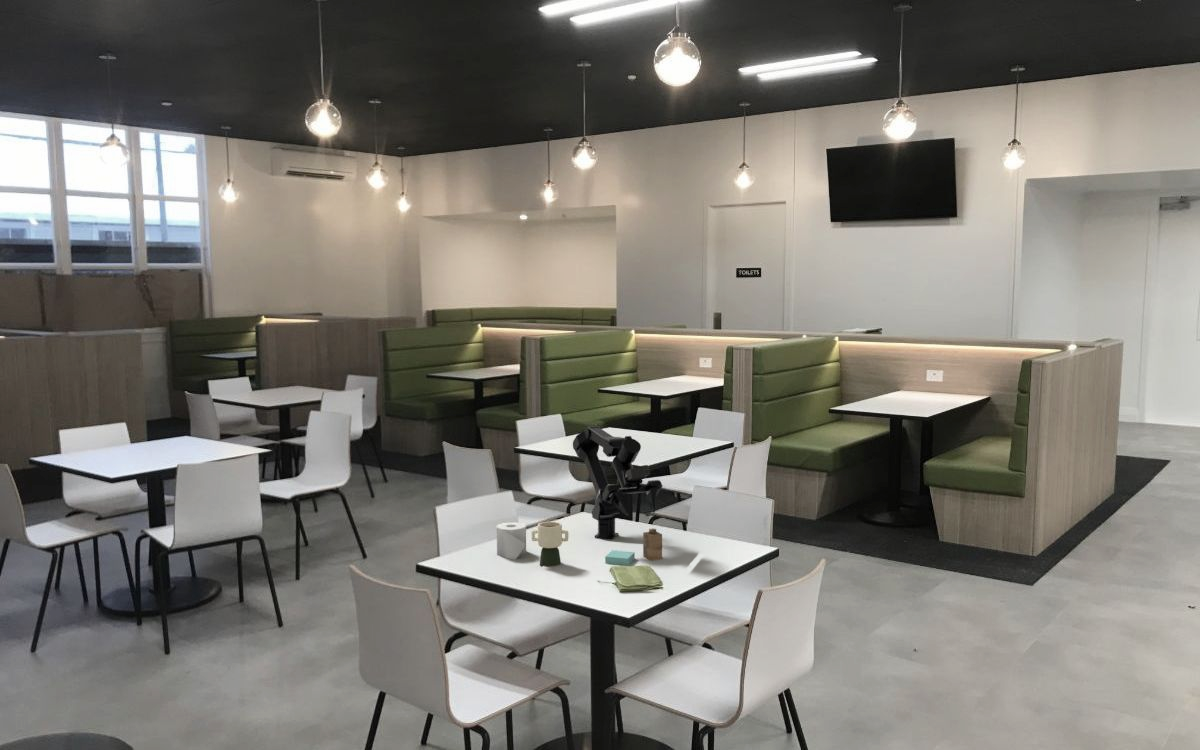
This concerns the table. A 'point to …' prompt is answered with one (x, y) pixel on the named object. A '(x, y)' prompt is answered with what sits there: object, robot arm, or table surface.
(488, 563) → the table surface
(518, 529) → the toilet tissue
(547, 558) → the character mug
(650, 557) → the walnut pillar
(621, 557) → the teal slab
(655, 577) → the washcloth
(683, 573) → the table surface
